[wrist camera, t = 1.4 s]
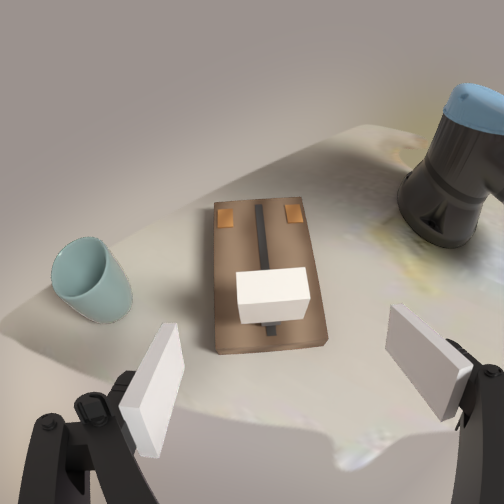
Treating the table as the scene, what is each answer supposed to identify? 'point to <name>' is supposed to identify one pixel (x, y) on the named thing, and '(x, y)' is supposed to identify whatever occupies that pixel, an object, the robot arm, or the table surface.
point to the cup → (92, 281)
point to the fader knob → (272, 295)
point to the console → (263, 258)
